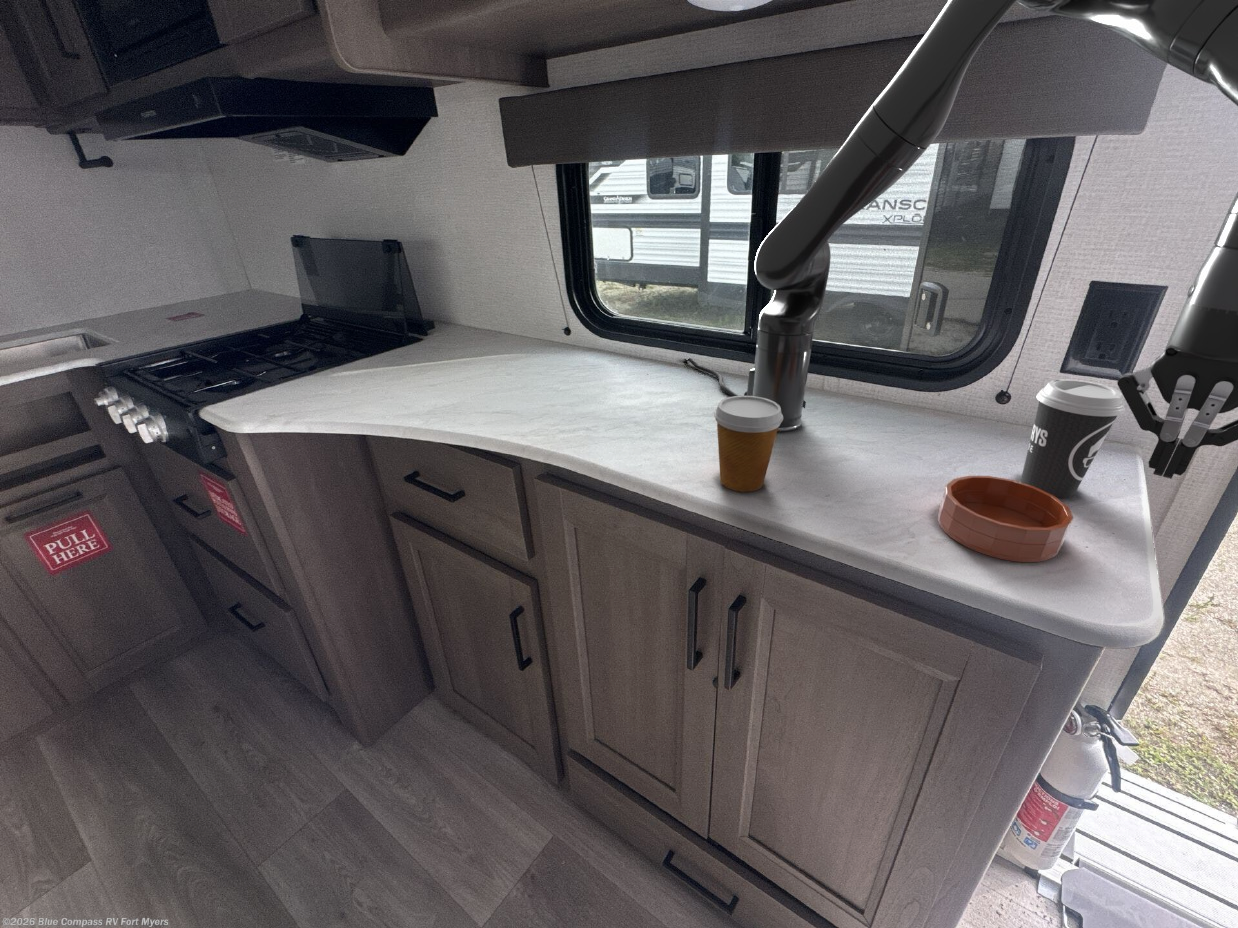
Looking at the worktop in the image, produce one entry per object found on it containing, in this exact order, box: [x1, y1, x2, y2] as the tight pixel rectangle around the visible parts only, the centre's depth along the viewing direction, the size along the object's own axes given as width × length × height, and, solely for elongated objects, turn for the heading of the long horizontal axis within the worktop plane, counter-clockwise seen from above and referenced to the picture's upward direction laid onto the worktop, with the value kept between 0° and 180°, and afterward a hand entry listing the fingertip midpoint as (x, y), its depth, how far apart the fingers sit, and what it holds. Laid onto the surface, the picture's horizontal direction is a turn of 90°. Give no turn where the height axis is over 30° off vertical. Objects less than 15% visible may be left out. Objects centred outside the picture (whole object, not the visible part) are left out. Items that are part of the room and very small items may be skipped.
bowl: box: [937, 475, 1074, 563], centre depth 71 cm, size 13×13×4 cm
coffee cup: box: [1020, 378, 1126, 499], centre depth 78 cm, size 10×10×15 cm
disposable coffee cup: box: [713, 395, 783, 493], centre depth 81 cm, size 10×10×12 cm
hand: (1162, 474), depth 58 cm, fingers closed
